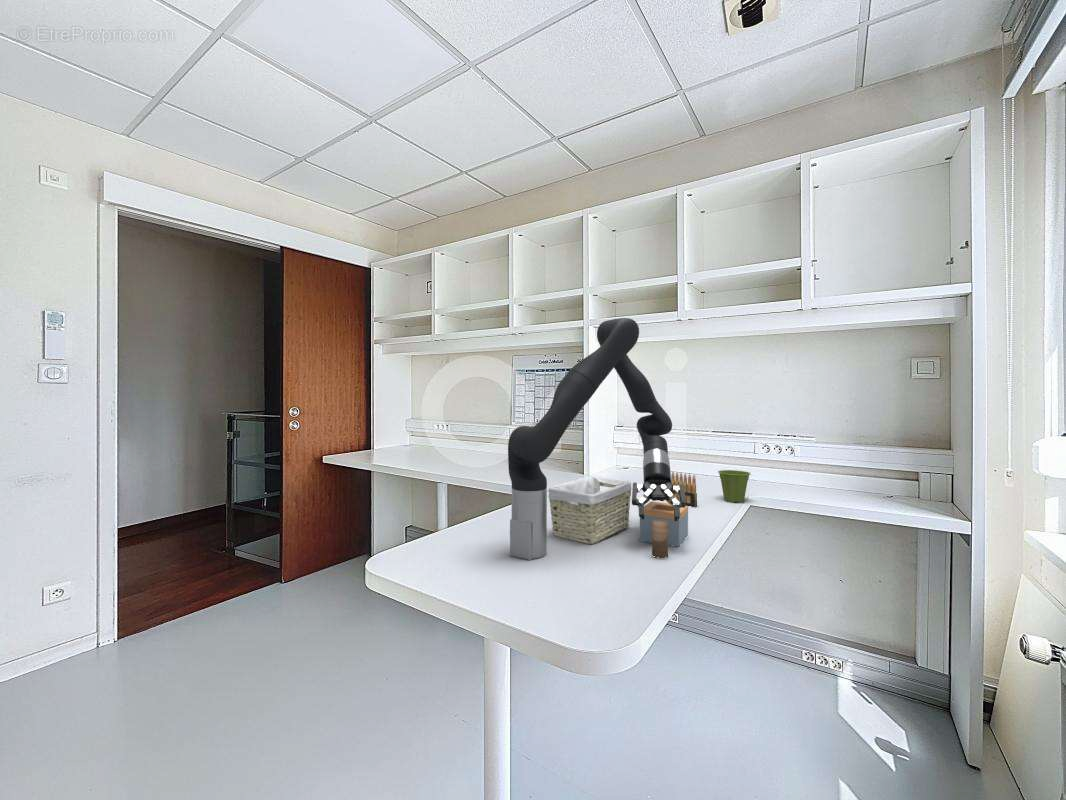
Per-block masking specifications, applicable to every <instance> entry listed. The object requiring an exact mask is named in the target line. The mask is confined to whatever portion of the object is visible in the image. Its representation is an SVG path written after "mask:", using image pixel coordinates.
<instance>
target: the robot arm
mask: <svg viewBox="0 0 1066 800" xmlns="http://www.w3.org/2000/svg"><path fill="white" fill-rule="evenodd" d="M639 335H640V328H639V325H638V322H636V320H634V319H632V318H629V317H620V318H613V319H607V320H604V321H602V322H601V323H600V324H599V326H598V327H597V329H596V337H597V338H596V339H597V341H598V345H599V347H598V348H597V349H596V350H594V351H593V352H592V353H589V354H588V355H587V356H586V357H584V358H583V359H582V360H580V361H579V362H578V363H576V364H574V365H573V366H572V367H571V368H570V370H568V371H567V373H566V374H565V375H564V377H562V379H561V380H560V381H559V383H558V385H557V386H556V388H555V391H554V395H553V398H552V402H551V405H550V407H549V409H548V410H547V412H546V413H545V414H544V416H543V417H541V419H540V420H539V421H537V423H536V424H535V425H534V426H529V425H528V426H527V425H521V426H518V427H516V428H514V430H512V432H511V433H510V435H509V438H508V441H507V442H508V443H507V456H508V457H507V463H508V475H509V479H510V481H511V518H510V520H509V556H511V557H514V558H519V559H523V560H529V561H531V560H534V559H539V558H542V557H545V556H546V555H547V553H548V552H547V550H548V548H547V542H548V540H547V537H548V535H547V534H548V533H547V526H548V522H547V518H548V517H547V512H548V510H547V509H548V506H547V505H548V503H547V502H548V500H547V499H548V481H547V479H548V478H547V476H546V475H545V474H544V472H543V471H542V470H541V467H540V464H541V463H542V462H544V461H546V460H548V458H549V457H550V456H551V454H552V453H553V452H554V450H555V448H556V446H557V445H558V443H559V442H560V441H561V438H562V437H563V435H564V433H565V432H566V430H567V428H569V426H570V425H571V423H572V422H573V420H575V418H576V417H577V416H578V414H579V413H580V412H581V410H582V409H583V407H584V406H585V405H586V404H587V403H588V402H589V401H590V399H592V397H593V395H594V394H595V392H596V391H597V390H598V389H599V387H600V386H601V385H602V384H603V382H604V381H605V379H606V378H607V377H608V376H609V375H610V373H611V372H612V371H613V369H614V370H615V372H616V373H617V375H618V377H619V379H620V380H621V381H622V383H623V385H624V387H625V389H626V391H627V394H628V397H629V399H630V402H631V404H632V406H633V408H634V410H635V412H636V413H642V414H645V413H646V414H647V415H644V416H641V417H640V418H638V420H637V422H636V429H637V432H638V435H639V437H640V439H641V442H642V446H643V459H642V471H643V472H642V473H643V483H642V484H638V483H637V482H633V483H632V488H631V505H632V506H637V507H638V517H639V518H640V517H641V519H644V506H645V505H647V504H648V503H649V501H651V500H652V502H657V501H658V502H659V501H660V502H664V501H666V502H667V503H668V504H671V505H672V506H673V507H674V521H678V519H679V518H680V508H681V507H682V508H685V506H686V496H685V490H684V485H683V484H680V485H679V486H673V485H672V483H671V476H672V472H671V464H670V458H669V450H668V442H667V440H666V438H664V437H663V436H664V435H667V434H669V433H671V431H672V428H673V422H672V419H671V417H670V415H669V414H668V413H667V412H666V410H664V408H663V407H662V405H660V403H659V402H658V400H657V398H656V396H655V393H654V391H653V388H652V386H651V384H650V382H649V381H648V379H647V378H646V376H645V375H644V374H643V372H642V371H641V370H640V369H639V368H638V366H636V365H635V363H634V362H633V361H632V360H631V359H630V357H629V356H628V354H629V352H630V351H631V350H632V349H633V348H634V347H635V346H636V345H637V342H638V340H639V337H640V336H639ZM641 490H642V492H643V494H642V496H641V497H640V498H639V499H638V498H637V496H638V495H637V494H639V493H640V492H641ZM673 491H676V493H677V494H678V495H679V498H680V501H678V500H677V499H676V498H675V496H674V495H673V494H672V492H673Z"/></svg>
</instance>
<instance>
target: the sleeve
mask: <svg viewBox="0 0 1066 800" xmlns="http://www.w3.org/2000/svg"><path fill="white" fill-rule="evenodd" d="M655 519H662V520H666V521H668V546H669V545H674V546H673V547H675V546H679V545H680V544H681V543H682V542H683V541H686V539H687V538H688V537H689V506H685V508H682V507H681V508H680V518H679V519H678V521H674V507H673V506H672V505H671V504H669V503H668V502H667V503H666V502H661V501H660V502H659V501H658V502H657V501H651V500H650V502H647V503H646V504H645V505H644V519H641V517H639V541H640V540H641V541H642V542H646V541H649V542H648V543H651V542H652V521H653V520H655ZM687 536H688V537H687ZM686 537H687V538H686ZM685 538H686V539H685ZM641 541H640V542H641ZM683 543H684V542H683ZM683 543H682V544H683ZM682 544H681V545H682ZM681 545H680V546H681ZM680 546H679V547H680Z"/></svg>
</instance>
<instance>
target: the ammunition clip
mask: <svg viewBox="0 0 1066 800" xmlns="http://www.w3.org/2000/svg"><path fill="white" fill-rule="evenodd" d="M671 483H672V485H673V486H679V485H680V484H683V485H684V490H685V496H686V506H688V507H689V506H691V507H690V508H694V507H695V508H698V493H697V480H696V475H695V474H693V475H692V476H691V473H689V474H688V477H687V473H684V475H683V473H682V472H680V474H679V472H676V473H675V472H674V471H672V472H671ZM672 494H673V495H674V496H675V498H676V499H677V500H678V501H680V498H679V495H678V494H677V493H676V491H673V492H672Z"/></svg>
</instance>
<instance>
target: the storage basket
mask: <svg viewBox="0 0 1066 800" xmlns="http://www.w3.org/2000/svg"><path fill="white" fill-rule="evenodd" d="M601 487H605V488H606V489H604V490H601V489H600V488H601ZM607 488H608V489H607ZM600 490H601V491H600ZM547 492H548V495H547V498H548V500H549V507H550V516H551V519H550V520H551V525H552V534H553V536H555V537H559V538H563V539H568V540H571V541H574V542H577V541H578V542H577V543H583V544H588V545H594V544H596V543H599V542H601V541H602V540H604V539H607V538H608V537H611V536H613V535H615V534H617V533H619V532H621V531H623V530H625V529H627V528H629V526H630V524H629V522H630V519H629V518H630V508H631V498H632V483H631V482H630V481H629V480H626V481H625V480H621V479H614V478H607V477H601V476H591V475H590V476H587V477H582V478H579V479H576V480H572V481H568V482H564V483H560V484H555V485H551V486H549V487H548V488H547Z"/></svg>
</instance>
